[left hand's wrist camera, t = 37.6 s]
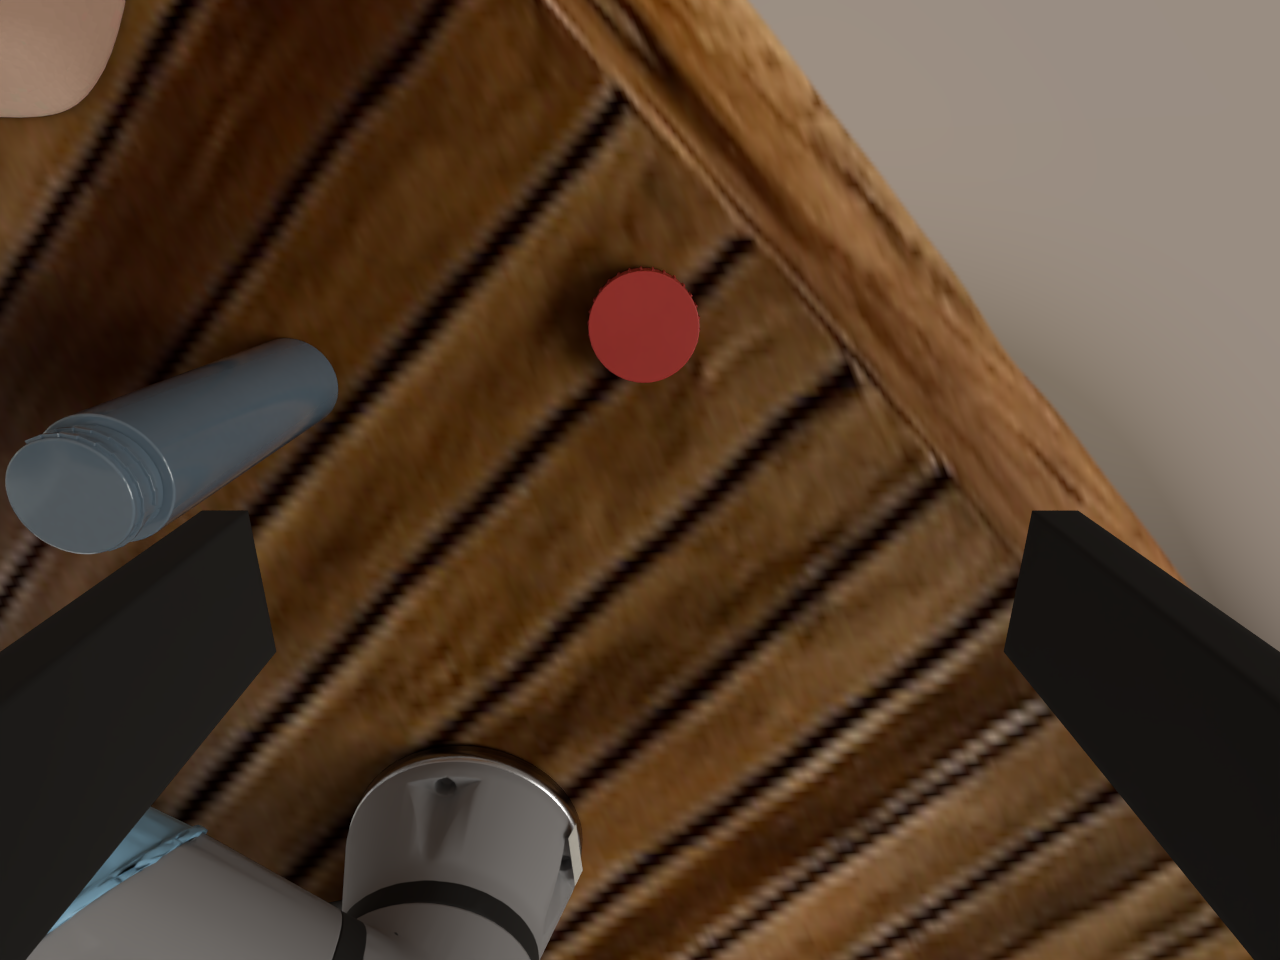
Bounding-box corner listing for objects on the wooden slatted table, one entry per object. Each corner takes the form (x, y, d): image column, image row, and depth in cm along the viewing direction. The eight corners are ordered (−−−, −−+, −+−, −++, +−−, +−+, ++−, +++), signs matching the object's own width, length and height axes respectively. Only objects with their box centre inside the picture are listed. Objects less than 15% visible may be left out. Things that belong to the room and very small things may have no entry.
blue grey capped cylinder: (354, 408, 40) (173, 538, 24) (276, 437, 40) (52, 582, 25) (311, 324, 38) (88, 406, 23) (231, 356, 39) (-39, 456, 23)
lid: (683, 252, 37) (685, 255, 35) (708, 360, 39) (712, 368, 37) (575, 282, 37) (572, 286, 36) (606, 388, 39) (604, 396, 38)
